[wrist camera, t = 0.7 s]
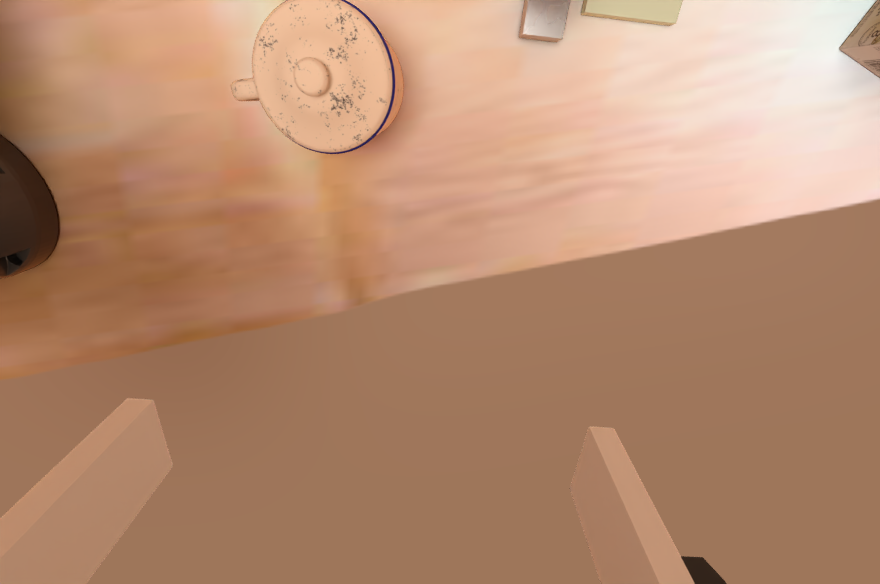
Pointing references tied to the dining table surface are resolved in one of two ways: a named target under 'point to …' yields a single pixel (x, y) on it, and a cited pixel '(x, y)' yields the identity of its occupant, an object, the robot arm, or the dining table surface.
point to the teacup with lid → (324, 75)
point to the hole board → (635, 10)
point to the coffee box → (866, 41)
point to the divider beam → (544, 19)
